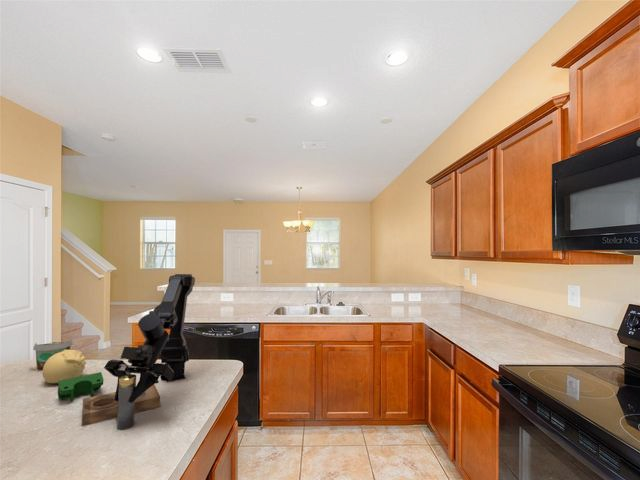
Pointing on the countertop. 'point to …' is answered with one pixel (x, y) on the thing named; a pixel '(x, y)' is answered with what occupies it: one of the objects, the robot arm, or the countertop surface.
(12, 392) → the countertop surface
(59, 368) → the sculpture
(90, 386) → the clamp
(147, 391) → the socket plate
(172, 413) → the countertop surface
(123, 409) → the grey and gold cylinder
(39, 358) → the food container
